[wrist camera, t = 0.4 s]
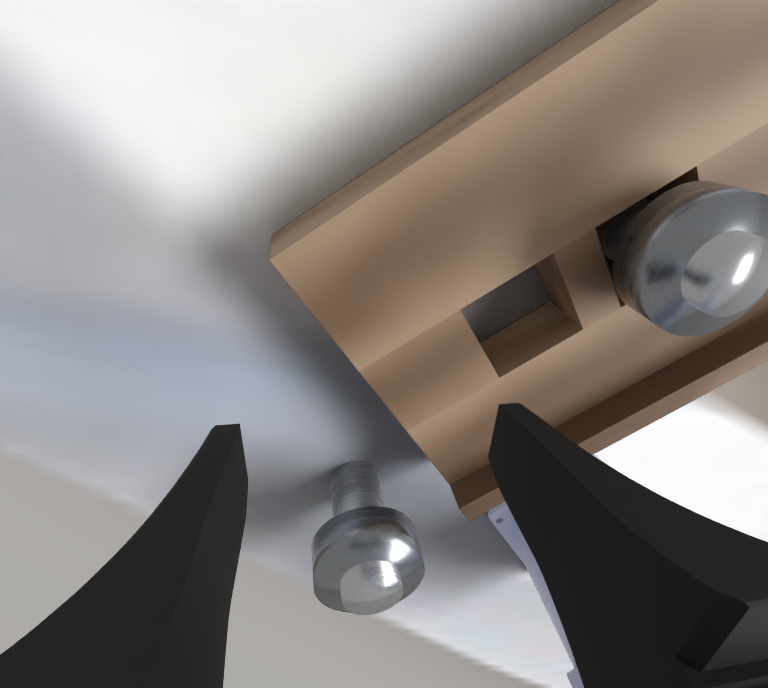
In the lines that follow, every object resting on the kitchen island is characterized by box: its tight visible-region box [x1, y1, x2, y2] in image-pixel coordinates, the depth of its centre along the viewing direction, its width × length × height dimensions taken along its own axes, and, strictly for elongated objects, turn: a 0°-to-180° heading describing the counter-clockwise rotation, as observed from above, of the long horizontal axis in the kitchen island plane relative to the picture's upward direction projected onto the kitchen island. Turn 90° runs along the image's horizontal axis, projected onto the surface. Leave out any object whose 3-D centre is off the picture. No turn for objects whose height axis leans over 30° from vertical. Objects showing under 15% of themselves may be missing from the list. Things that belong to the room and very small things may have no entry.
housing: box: [269, 0, 768, 521], centre depth 19 cm, size 16×20×4 cm
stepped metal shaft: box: [312, 461, 425, 615], centre depth 23 cm, size 5×5×7 cm
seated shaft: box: [595, 180, 768, 336], centre depth 18 cm, size 5×5×7 cm
